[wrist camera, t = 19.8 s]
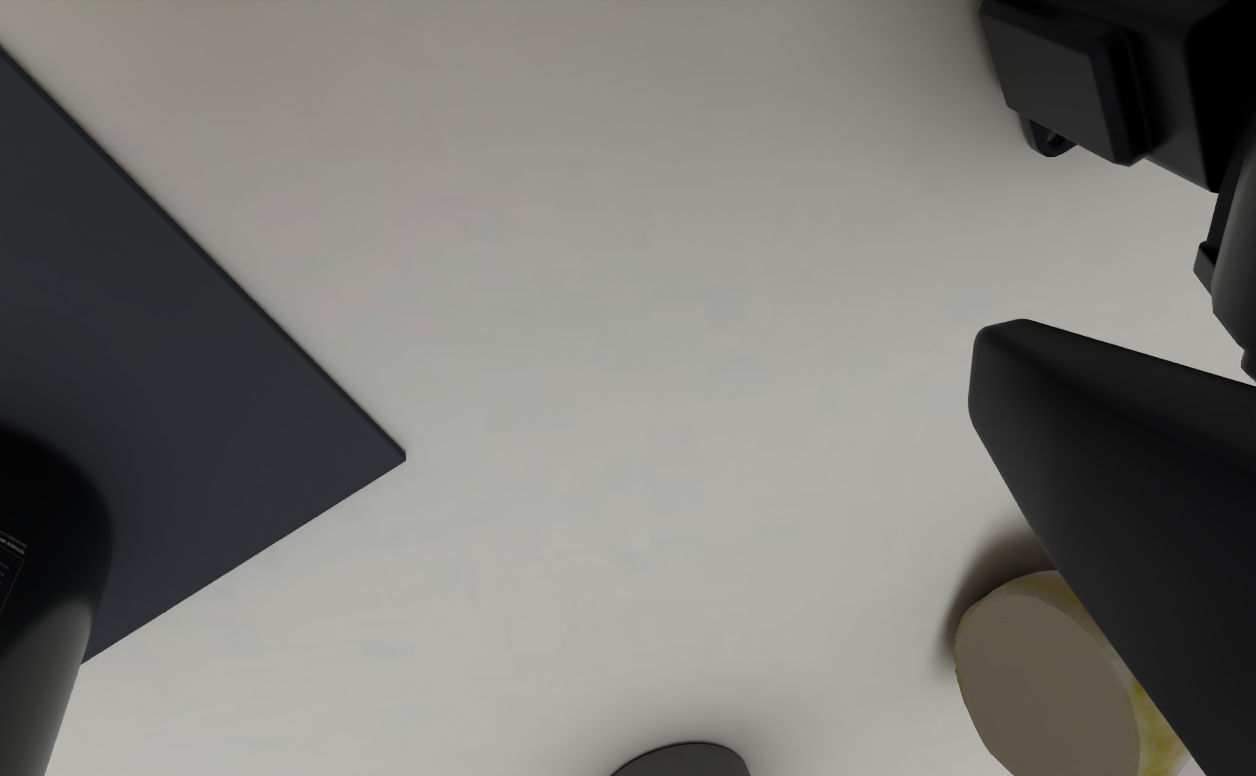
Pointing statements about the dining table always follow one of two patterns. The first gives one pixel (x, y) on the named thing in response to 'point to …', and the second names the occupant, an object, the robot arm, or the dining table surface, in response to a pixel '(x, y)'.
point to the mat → (154, 374)
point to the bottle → (687, 762)
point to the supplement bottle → (44, 596)
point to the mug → (1056, 688)
